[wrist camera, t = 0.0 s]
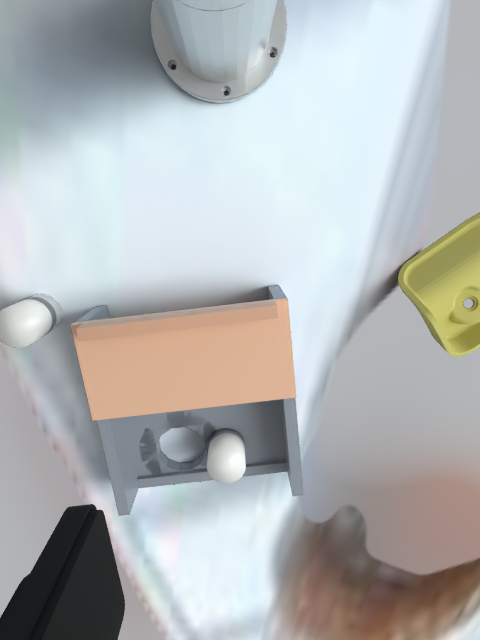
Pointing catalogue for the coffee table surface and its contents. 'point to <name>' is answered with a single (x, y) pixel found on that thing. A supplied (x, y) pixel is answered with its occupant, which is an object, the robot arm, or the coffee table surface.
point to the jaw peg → (29, 320)
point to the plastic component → (448, 287)
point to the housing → (220, 438)
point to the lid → (186, 359)
